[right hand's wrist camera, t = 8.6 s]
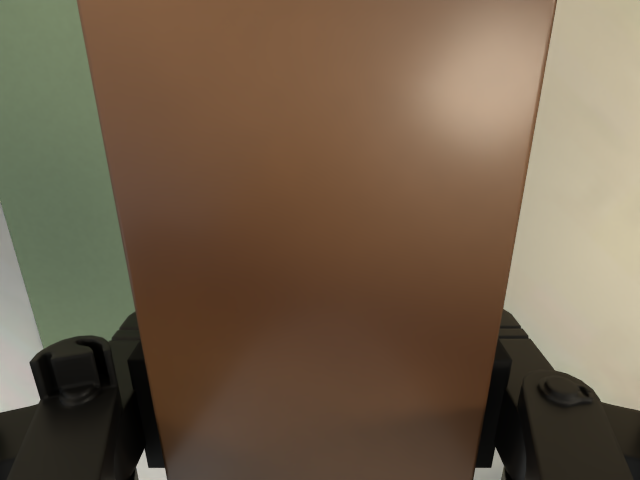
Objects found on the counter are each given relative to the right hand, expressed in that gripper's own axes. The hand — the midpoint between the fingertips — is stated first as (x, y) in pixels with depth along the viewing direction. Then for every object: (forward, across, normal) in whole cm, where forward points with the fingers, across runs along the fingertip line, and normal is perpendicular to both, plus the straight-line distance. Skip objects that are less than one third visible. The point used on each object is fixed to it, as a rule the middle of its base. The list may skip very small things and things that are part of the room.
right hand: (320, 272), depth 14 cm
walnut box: (+1, 0, -11) cm, 11 cm away
